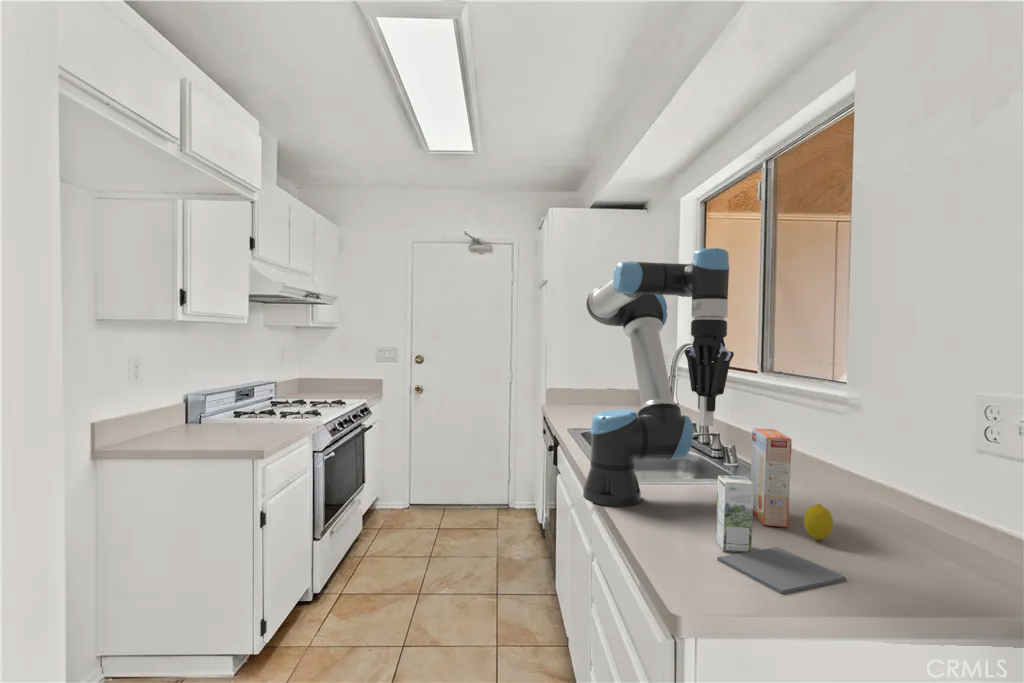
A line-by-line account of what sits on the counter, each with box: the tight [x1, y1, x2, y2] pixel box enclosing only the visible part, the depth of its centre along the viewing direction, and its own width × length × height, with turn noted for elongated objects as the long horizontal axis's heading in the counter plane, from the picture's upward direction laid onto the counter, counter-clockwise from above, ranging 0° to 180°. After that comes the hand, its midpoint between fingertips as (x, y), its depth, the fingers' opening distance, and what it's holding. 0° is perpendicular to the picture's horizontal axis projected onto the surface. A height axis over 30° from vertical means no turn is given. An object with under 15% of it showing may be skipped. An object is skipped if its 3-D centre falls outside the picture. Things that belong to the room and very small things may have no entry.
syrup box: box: [715, 474, 754, 553], centre depth 115 cm, size 6×6×14 cm
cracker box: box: [750, 427, 793, 528], centre depth 135 cm, size 14×6×21 cm, turn 168°
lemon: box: [803, 503, 834, 541], centre depth 120 cm, size 6×6×8 cm
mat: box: [716, 546, 847, 595], centre depth 104 cm, size 15×16×1 cm
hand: (706, 425), depth 123 cm, fingers closed
